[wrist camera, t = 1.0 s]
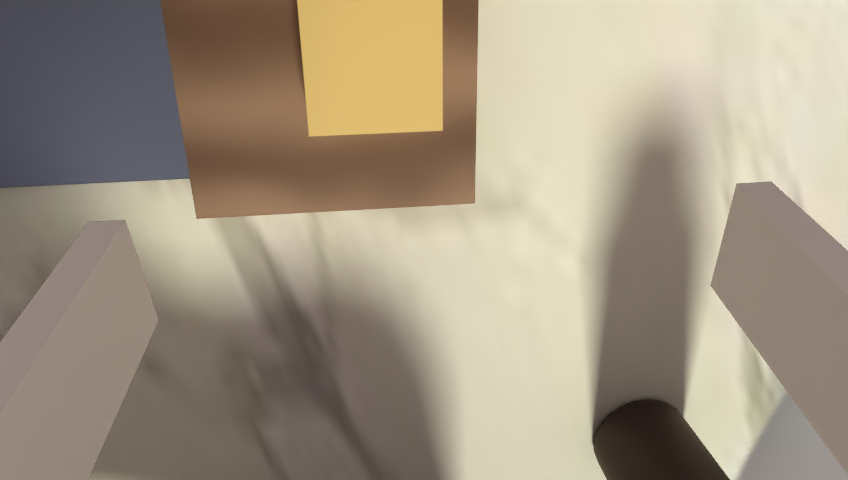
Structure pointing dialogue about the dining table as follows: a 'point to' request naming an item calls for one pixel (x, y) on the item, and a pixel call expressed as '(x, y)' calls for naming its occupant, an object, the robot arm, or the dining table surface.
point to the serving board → (305, 119)
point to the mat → (87, 94)
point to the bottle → (652, 445)
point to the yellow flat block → (372, 65)
